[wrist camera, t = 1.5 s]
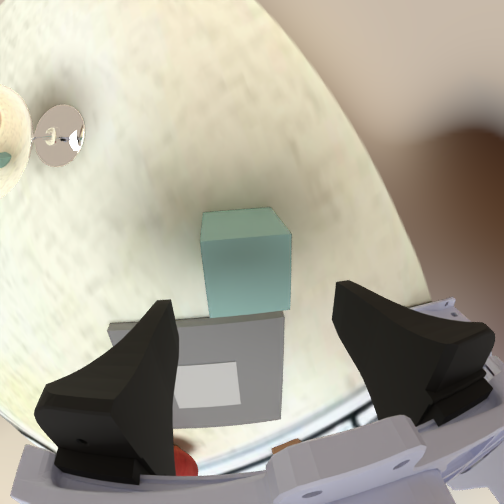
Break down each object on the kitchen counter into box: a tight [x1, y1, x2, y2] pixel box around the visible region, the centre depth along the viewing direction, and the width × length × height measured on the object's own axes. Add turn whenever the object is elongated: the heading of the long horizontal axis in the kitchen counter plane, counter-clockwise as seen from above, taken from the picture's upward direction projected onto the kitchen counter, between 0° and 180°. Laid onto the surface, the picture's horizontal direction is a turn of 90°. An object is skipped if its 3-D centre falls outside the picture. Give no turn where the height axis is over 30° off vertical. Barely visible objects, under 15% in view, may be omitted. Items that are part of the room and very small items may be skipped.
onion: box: [174, 445, 198, 476], centre depth 25 cm, size 6×6×8 cm
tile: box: [107, 311, 285, 429], centre depth 24 cm, size 14×14×1 cm
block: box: [200, 207, 292, 318], centre depth 18 cm, size 4×4×6 cm
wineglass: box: [0, 84, 85, 199], centre depth 10 cm, size 6×6×12 cm
